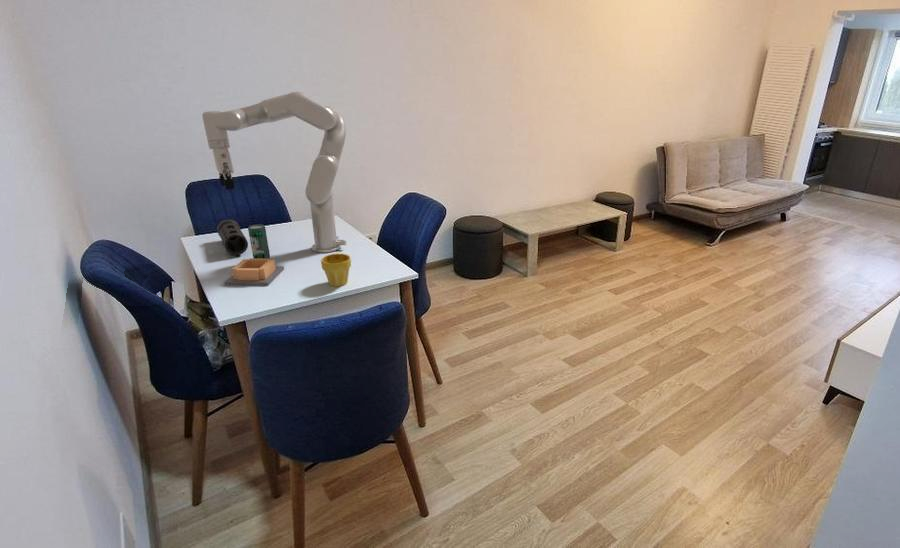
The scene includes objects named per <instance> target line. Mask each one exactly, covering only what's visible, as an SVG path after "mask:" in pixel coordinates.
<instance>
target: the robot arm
mask: <svg viewBox="0 0 900 548" xmlns="http://www.w3.org/2000/svg"><path fill="white" fill-rule="evenodd" d="M201 116H202V122H203V126H204V131H205V135H206V140H207V145H208V148H209V149H210V150H212V154H213V159H214V163H215V167H216V170H217V172H218V175H219V177H218V178H219V181H220V185H221V186H222V187H223V186H225V190H235V184H234V180H233V176H232V175H233V174H234V173H235V171H234V166H233V162H232V161H233V160H232V158H231V154H230V151H229V148H231V146H230V142H229V140H230V139H229V137H228V136H229V135H228V132H229V131H230V132H238V131H240V130H242V129H246V128H250V127H253V126H257V125H261V124H265V123H274V122H279V121H282V120H286V119H290V118H294V117H295V118H297V119H299V120H301V121H303V122H305V123H307V124H309V125H311V126H312V127H315V128H316V129H318V130H321V131H324V135H323V138H322V141H321V146H320V148H319V149H320V150H319V152H318V154H317V156H316V158H315V159H314V161H313V163H312V166H311V169H310V173H309V176H308V180H307V184H306V186H305V198H306V199H307V200H308V201H309V205H310V213H311V214H310V215H311V216H310V217H311V221H312V230H313V231H312V232H313V239H314V243H313V245H312V246H311V250H312V251H313V252H315V253H322V254H323V253H332V252H335V251H338V250H340V249H342V246H347V241H346V240H345V239H339V236H337V231H336V220H335V211H334V208H335V207H334V198H333V185H334V182H335V178H336V175H337V172H338V169H339V164H340V160H341V156H342V153H343V149H344V145H345V140H346V135H347V129H346V125H345V122H344V119H343V118H342V116H341V115H340V113H339V112H338V111H337V110H336V109H335V108H333V107H331V106H329V105H328V106H327V105H322V104H320V103H317V102H316V101H314V100H312V99H310V98H309V97H308V96H307V94H305V93H304V92H302V91H292V92H289V93H285V94H281V95H278V96H274V97H271V98H266V99H263V100H262V101H260V102H258V103H255V104H252V105H249V106H244V107H240V108H237V109H231V110H227V111H226V110H225V111H219V110H213V111H212V110H211V111H210V110H209V111H204V112H203V113H202V114H201Z"/></svg>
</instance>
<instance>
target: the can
mask: <svg viewBox="0 0 900 548" xmlns="http://www.w3.org/2000/svg"><path fill="white" fill-rule="evenodd" d="M247 230H248V235H249V242H250V247H251V252H252V258H261V259H270V260H272V259H271V255H270V249H269V242H268V237H267V231H266V230H267V229H266V225H264V224H253V225H249V226H248V227H247Z"/></svg>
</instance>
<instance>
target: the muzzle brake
mask: <svg viewBox="0 0 900 548" xmlns="http://www.w3.org/2000/svg"><path fill="white" fill-rule="evenodd" d="M216 231H217V234H218V236H219V237H220V239H221V241H222V245H223V247H224V248H225V250H226V251H227V252H228V254H230V255H233V256H236V257H240V256H241V254H242V255H243V254H244V253H245V252H246V251H247V250H248V246H249V243H248V242H249V241H248V239H247V238H246V236H245V235H244V233H243V231H242V229H241V226H240V225H239V224H238V222H237V221H235V220H233V219H224V220H222V221H220V222H219V223H218V225H217V228H216Z"/></svg>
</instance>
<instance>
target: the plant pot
mask: <svg viewBox="0 0 900 548" xmlns="http://www.w3.org/2000/svg"><path fill="white" fill-rule="evenodd" d="M320 263H321V269H322V270H323V271H324V273H325V275H326V278H327V281H328V284H329V286H331V287H342V286H344V285H347V283H348V281H349V272H350V268H351V267H352V259H351V256H350V255H348V254H346V253H331V254H328V255H325V256H323V257H321V259H320Z"/></svg>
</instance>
